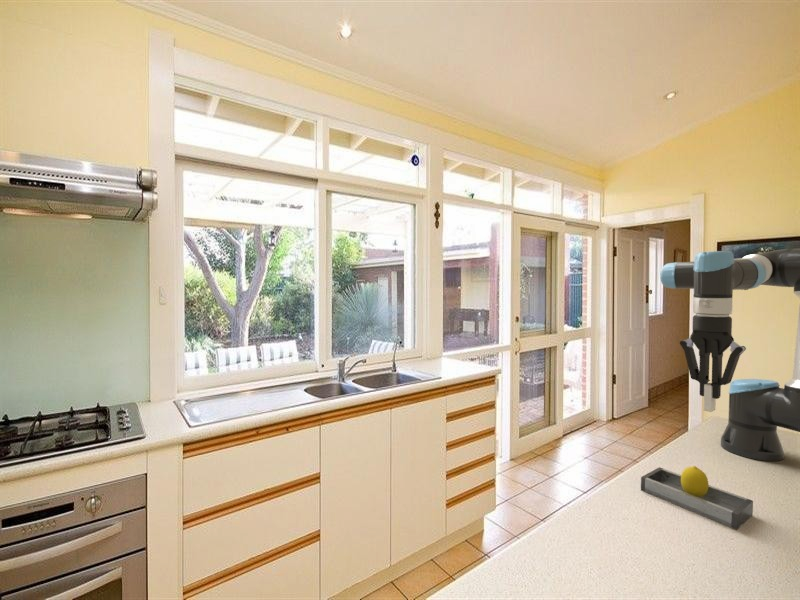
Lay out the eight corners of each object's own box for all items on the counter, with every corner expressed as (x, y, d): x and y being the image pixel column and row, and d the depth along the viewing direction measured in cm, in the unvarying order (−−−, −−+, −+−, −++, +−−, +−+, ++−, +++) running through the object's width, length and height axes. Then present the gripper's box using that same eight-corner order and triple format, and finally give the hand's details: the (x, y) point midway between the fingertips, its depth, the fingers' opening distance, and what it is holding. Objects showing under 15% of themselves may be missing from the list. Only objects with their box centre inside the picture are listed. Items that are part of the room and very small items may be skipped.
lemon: (683, 501, 97) (684, 469, 96) (677, 490, 102) (678, 459, 101) (711, 506, 95) (712, 473, 94) (703, 494, 100) (704, 463, 99)
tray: (658, 479, 109) (659, 467, 109) (752, 515, 93) (753, 500, 92) (640, 490, 104) (641, 477, 104) (736, 530, 87) (737, 514, 87)
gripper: (674, 314, 100) (672, 406, 101) (740, 318, 89) (736, 421, 90) (687, 312, 104) (685, 400, 105) (751, 315, 93) (748, 414, 94)
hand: (709, 410), depth 98 cm, fingers closed
